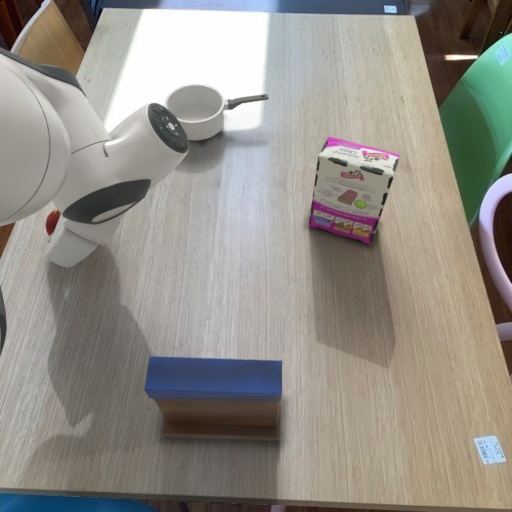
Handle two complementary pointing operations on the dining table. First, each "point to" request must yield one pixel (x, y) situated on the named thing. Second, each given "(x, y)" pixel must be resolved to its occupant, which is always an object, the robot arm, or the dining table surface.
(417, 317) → the dining table surface
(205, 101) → the saucepan
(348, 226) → the candy bar box
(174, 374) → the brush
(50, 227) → the red pomegranate
